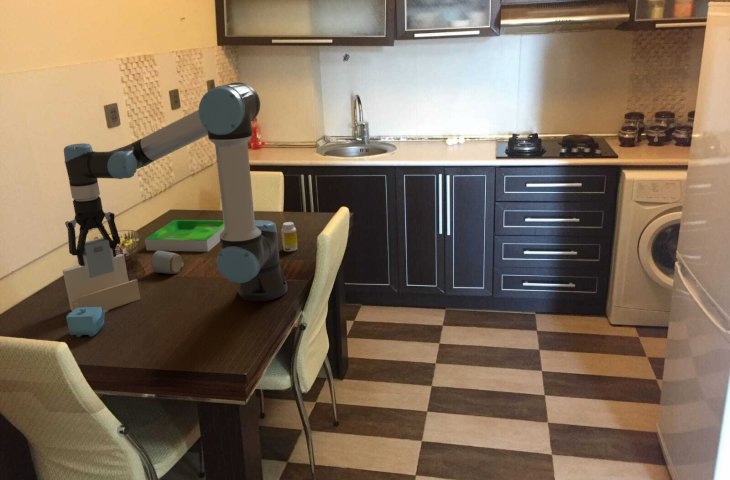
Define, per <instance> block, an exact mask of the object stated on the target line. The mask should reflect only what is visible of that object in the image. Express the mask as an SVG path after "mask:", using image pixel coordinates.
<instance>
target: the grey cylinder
mask: <svg viewBox="0 0 730 480" xmlns="http://www.w3.org/2000/svg"><path fill="white" fill-rule="evenodd" d="M150 261H151V262H150V264H151V269H152V271H153V273H159V274H169V275H175V274H178V273H179V272H180V271H181V269H182V268H183V267H184V262H183V259H182V257H181V255H180V254H178V253H176V252H175V253H174V252H172V251H154V253H153V255H152V257H151V260H150Z"/></svg>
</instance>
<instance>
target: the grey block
mask: <svg viewBox="0 0 730 480" xmlns="http://www.w3.org/2000/svg"><path fill="white" fill-rule="evenodd" d="M83 254H85V255H86V257H87V262H88V268H89V273H90V276H89V277H90V278H92V277H95V276H99V275H102V274H106V273H109V272H113V271H114V268H113V263H112V257H111V251H110V246H109V240H106V239H105V238H103V237H100V238H96V239H92V240H88V241H86V242H85V246H84V253H83Z"/></svg>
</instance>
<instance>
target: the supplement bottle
mask: <svg viewBox="0 0 730 480" xmlns="http://www.w3.org/2000/svg"><path fill="white" fill-rule="evenodd" d="M280 233H281V242H282V250H283V251H284V252H294V251H297V250H298V248H299V247H298V245H299V244H298V237H297V236H298V235H297V228H296V227H295V224H294V222H292V221H287V222H286V221H285V222H284V223H282V228H281V232H280Z"/></svg>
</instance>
